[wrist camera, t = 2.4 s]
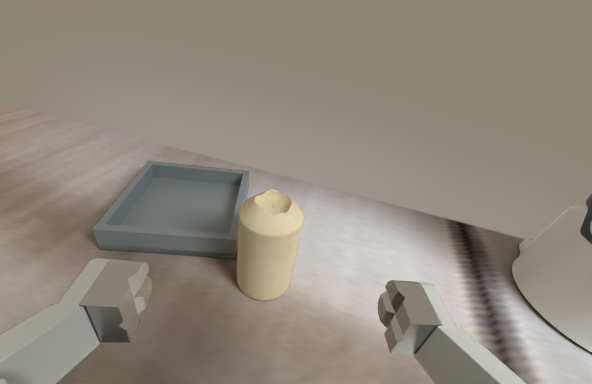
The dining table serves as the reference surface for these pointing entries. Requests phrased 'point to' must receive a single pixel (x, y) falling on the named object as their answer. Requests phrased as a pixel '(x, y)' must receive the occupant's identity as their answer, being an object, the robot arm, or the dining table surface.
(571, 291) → the robot arm
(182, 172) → the serving tray
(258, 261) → the candle
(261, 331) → the dining table surface
